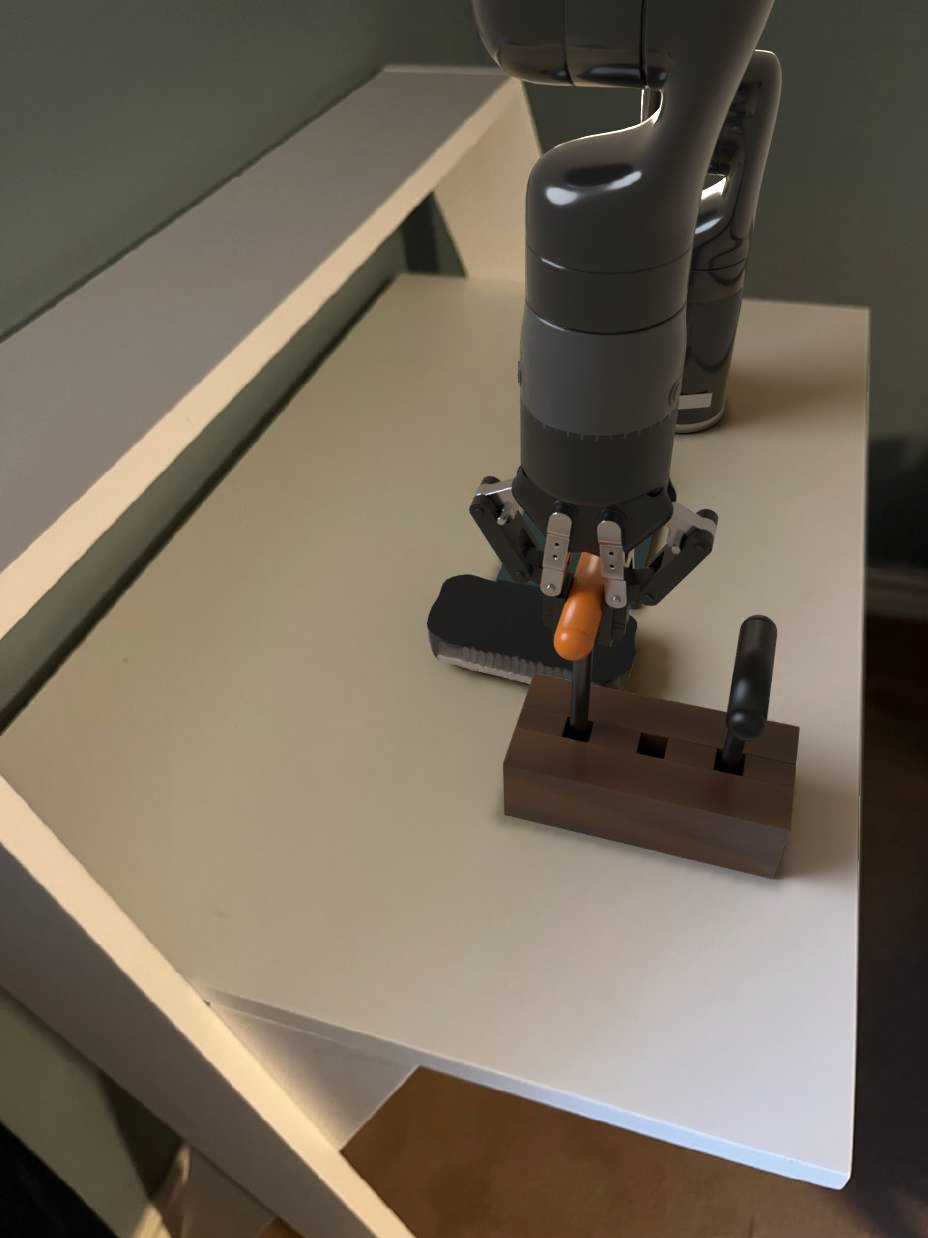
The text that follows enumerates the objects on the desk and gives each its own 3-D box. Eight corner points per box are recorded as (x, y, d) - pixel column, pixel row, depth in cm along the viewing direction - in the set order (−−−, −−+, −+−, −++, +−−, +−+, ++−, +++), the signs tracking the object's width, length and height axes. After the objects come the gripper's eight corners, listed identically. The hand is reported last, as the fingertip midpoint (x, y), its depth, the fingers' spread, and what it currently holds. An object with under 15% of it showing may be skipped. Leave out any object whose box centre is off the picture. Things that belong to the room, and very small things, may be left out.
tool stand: (533, 724, 73) (533, 672, 68) (782, 778, 68) (800, 726, 64) (504, 814, 67) (502, 764, 63) (772, 879, 63) (790, 830, 59)
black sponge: (419, 665, 77) (416, 634, 74) (457, 595, 82) (455, 563, 80) (618, 719, 73) (622, 688, 70) (645, 640, 78) (650, 609, 75)
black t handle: (709, 756, 70) (744, 604, 58) (740, 763, 69) (782, 610, 58) (691, 866, 64) (726, 720, 53) (724, 874, 63) (768, 728, 52)
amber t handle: (576, 693, 70) (586, 529, 58) (606, 699, 69) (622, 535, 58) (545, 798, 64) (549, 638, 52) (578, 806, 63) (589, 646, 52)
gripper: (759, 358, 46) (709, 610, 59) (481, 326, 49) (491, 571, 62) (741, 450, 41) (691, 703, 54) (435, 408, 45) (455, 655, 57)
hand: (584, 631), depth 58 cm, fingers closed on amber t handle, 2 cm apart
